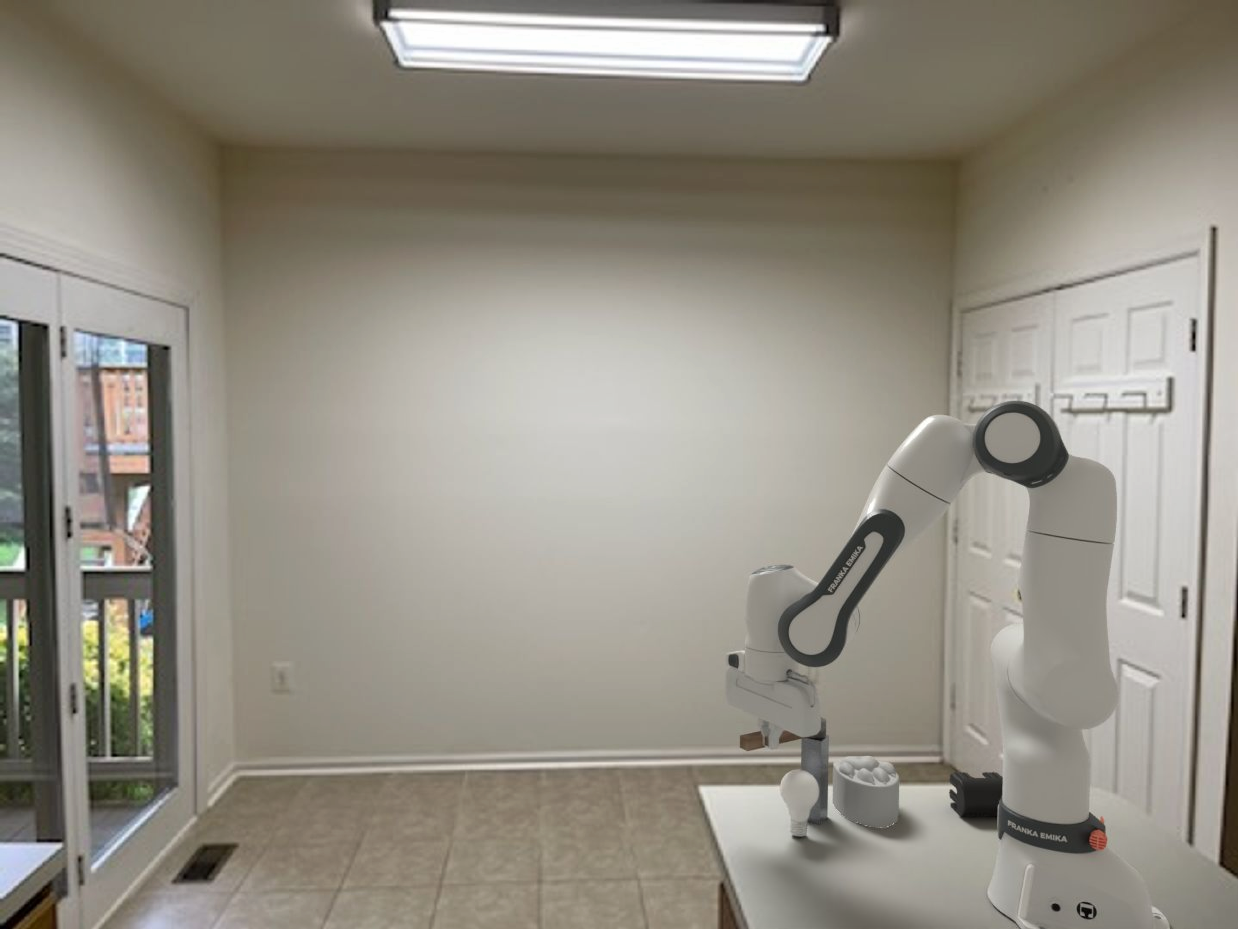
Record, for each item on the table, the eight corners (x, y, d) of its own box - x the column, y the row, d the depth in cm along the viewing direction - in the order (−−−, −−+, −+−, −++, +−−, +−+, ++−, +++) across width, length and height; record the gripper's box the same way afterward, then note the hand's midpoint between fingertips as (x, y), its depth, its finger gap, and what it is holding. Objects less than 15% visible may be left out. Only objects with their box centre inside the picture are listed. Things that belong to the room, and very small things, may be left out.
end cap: (964, 824, 147) (965, 785, 147) (946, 806, 154) (947, 769, 154) (1020, 823, 147) (1021, 784, 147) (1000, 805, 154) (1001, 768, 154)
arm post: (827, 817, 149) (829, 735, 148) (820, 824, 146) (821, 741, 145) (807, 811, 151) (809, 731, 150) (800, 819, 148) (801, 737, 147)
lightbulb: (815, 828, 144) (816, 764, 144) (820, 846, 138) (822, 779, 138) (777, 826, 145) (778, 762, 145) (781, 844, 139) (782, 777, 138)
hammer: (830, 736, 147) (830, 721, 147) (750, 754, 138) (751, 739, 138) (815, 729, 150) (815, 715, 150) (736, 747, 141) (736, 732, 141)
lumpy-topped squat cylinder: (881, 796, 158) (882, 749, 158) (911, 828, 145) (912, 777, 145) (826, 797, 157) (827, 751, 157) (851, 829, 144) (852, 779, 144)
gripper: (831, 676, 132) (829, 764, 132) (748, 648, 150) (747, 726, 150) (800, 681, 129) (798, 772, 129) (719, 652, 147) (718, 732, 147)
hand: (770, 747), depth 140 cm, fingers closed
